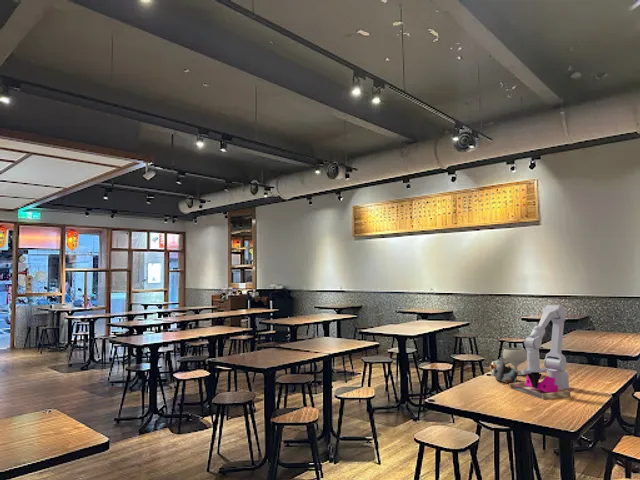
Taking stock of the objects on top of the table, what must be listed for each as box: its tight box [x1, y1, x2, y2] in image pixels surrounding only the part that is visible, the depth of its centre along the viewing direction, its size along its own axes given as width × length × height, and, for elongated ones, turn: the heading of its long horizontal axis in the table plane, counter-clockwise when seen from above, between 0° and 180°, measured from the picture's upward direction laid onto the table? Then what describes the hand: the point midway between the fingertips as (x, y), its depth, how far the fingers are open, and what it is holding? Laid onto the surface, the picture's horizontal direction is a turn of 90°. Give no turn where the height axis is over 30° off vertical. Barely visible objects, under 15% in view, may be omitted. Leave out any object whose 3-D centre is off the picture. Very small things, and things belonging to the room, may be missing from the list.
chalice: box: [502, 347, 527, 376], centre depth 275 cm, size 14×14×15 cm
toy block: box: [525, 374, 558, 393], centre depth 232 cm, size 15×6×8 cm, turn 16°
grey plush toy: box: [489, 358, 519, 385], centre depth 257 cm, size 15×12×14 cm
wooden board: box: [508, 381, 571, 400], centre depth 231 cm, size 16×24×2 cm
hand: (534, 387), depth 231 cm, fingers closed
